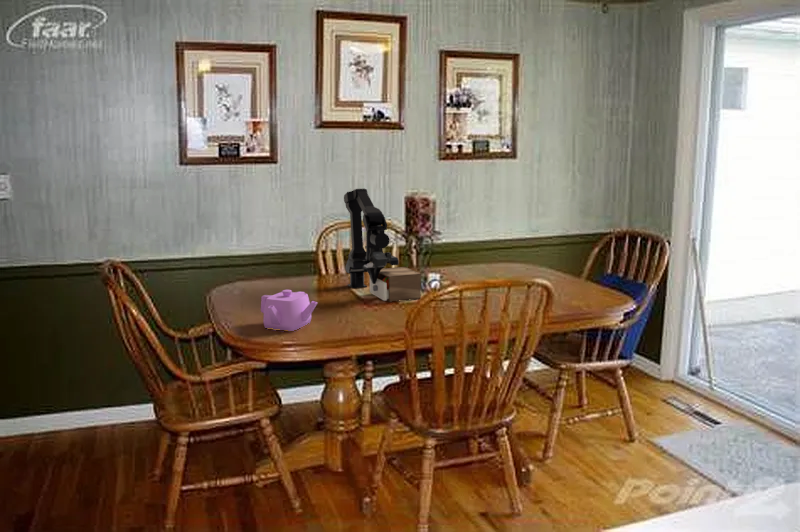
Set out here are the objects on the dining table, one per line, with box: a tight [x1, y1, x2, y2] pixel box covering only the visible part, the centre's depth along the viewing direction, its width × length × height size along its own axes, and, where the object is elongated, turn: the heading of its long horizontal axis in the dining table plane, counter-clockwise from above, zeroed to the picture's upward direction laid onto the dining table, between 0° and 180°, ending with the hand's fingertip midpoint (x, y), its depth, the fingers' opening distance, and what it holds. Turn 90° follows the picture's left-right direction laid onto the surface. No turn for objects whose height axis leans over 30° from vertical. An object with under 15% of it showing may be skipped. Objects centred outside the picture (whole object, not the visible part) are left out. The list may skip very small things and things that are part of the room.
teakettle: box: [260, 289, 318, 332], centre depth 242 cm, size 17×17×12 cm
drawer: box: [369, 277, 389, 302], centre depth 282 cm, size 15×14×7 cm
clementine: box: [382, 277, 389, 289], centre depth 281 cm, size 8×7×7 cm
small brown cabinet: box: [378, 266, 422, 303], centre depth 283 cm, size 15×13×10 cm
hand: (373, 283), depth 279 cm, fingers closed
